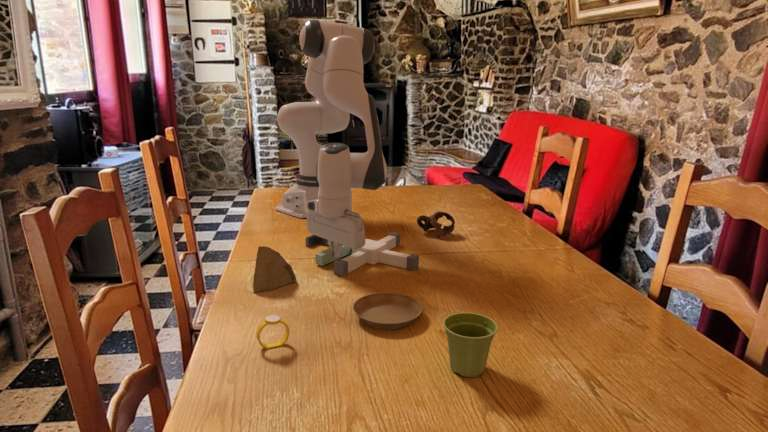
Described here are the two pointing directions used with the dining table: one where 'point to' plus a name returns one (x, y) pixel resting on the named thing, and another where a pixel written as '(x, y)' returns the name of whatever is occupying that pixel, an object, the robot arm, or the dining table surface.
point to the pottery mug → (436, 223)
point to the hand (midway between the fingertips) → (335, 256)
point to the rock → (271, 270)
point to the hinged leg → (326, 256)
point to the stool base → (377, 255)
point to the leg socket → (315, 240)
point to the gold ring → (272, 321)
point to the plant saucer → (387, 310)
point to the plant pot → (469, 342)
